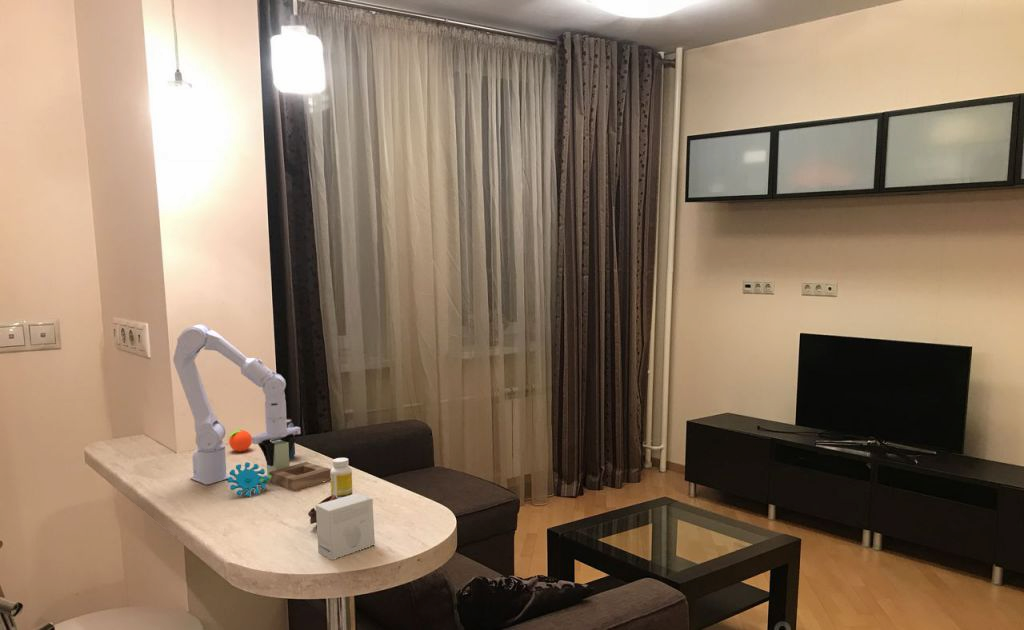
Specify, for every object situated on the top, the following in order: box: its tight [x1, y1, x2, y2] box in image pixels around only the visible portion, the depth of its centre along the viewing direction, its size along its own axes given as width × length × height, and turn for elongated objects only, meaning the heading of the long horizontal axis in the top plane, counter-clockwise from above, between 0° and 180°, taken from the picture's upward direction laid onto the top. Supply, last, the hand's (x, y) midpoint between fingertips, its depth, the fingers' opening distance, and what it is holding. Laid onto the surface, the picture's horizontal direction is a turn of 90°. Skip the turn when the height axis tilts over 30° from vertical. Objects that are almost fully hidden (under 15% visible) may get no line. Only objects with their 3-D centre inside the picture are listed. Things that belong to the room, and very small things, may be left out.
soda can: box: [270, 418, 296, 461], centre depth 218 cm, size 7×7×12 cm
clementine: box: [227, 429, 253, 453], centre depth 227 cm, size 8×7×7 cm
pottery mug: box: [307, 494, 349, 525], centre depth 163 cm, size 12×10×8 cm
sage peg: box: [266, 440, 290, 475], centre depth 202 cm, size 4×4×9 cm
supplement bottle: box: [330, 457, 353, 499], centre depth 182 cm, size 5×5×10 cm
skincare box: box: [315, 492, 376, 561], centre depth 149 cm, size 10×6×10 cm, turn 133°
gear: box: [227, 461, 272, 498], centre depth 188 cm, size 11×6×10 cm
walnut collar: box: [268, 461, 332, 492], centre depth 196 cm, size 12×12×3 cm
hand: (278, 463), depth 203 cm, fingers closed on sage peg, 4 cm apart
